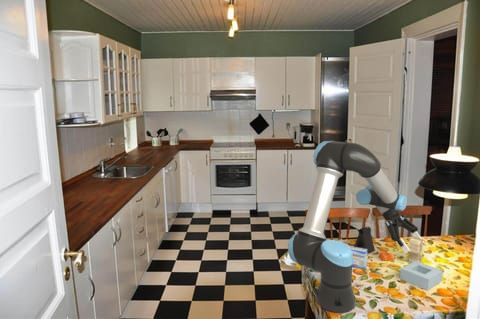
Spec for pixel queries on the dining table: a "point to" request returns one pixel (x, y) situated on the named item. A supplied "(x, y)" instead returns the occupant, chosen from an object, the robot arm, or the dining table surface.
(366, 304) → the dining table surface
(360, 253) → the medicine box
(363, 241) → the black jug
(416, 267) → the socket block
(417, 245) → the peg
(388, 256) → the rock
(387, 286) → the dining table surface
